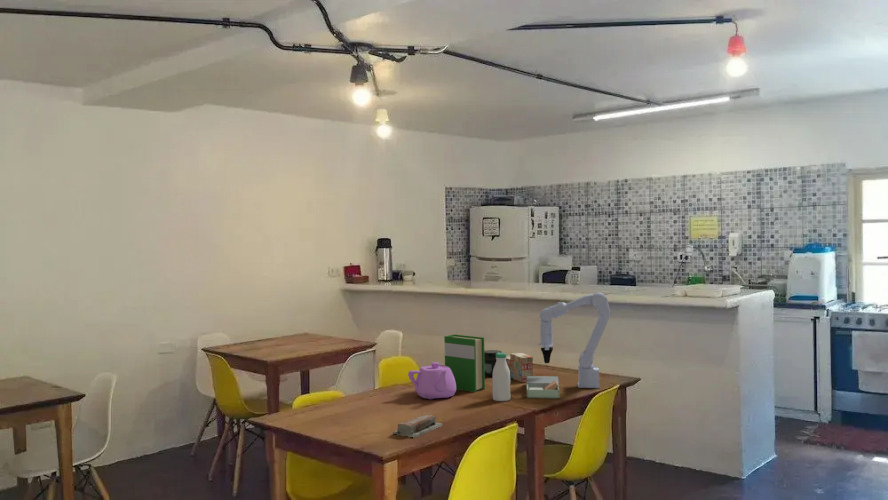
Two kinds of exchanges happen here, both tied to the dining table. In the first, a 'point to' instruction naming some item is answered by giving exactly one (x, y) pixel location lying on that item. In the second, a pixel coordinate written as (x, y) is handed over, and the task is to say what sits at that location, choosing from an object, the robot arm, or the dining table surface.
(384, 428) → the dining table surface
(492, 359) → the supplement container
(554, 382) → the terracotta tile
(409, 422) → the packaged product
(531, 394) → the tray
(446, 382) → the teapot
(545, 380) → the board
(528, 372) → the printed cardboard box
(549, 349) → the robot arm
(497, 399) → the milk bottle
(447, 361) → the hardback book
